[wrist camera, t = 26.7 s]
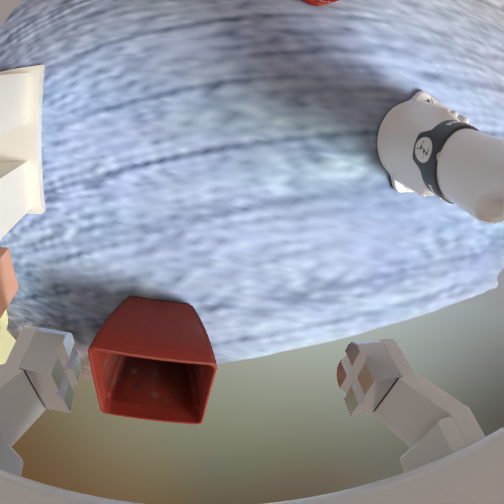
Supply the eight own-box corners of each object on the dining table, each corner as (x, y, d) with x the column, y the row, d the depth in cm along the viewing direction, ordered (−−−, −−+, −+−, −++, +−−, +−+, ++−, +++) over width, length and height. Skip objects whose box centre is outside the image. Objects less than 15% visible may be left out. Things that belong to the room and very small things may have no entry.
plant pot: (112, 349, 62) (100, 414, 48) (109, 278, 53) (86, 347, 39) (198, 359, 67) (202, 425, 52) (212, 292, 58) (218, 363, 43)
